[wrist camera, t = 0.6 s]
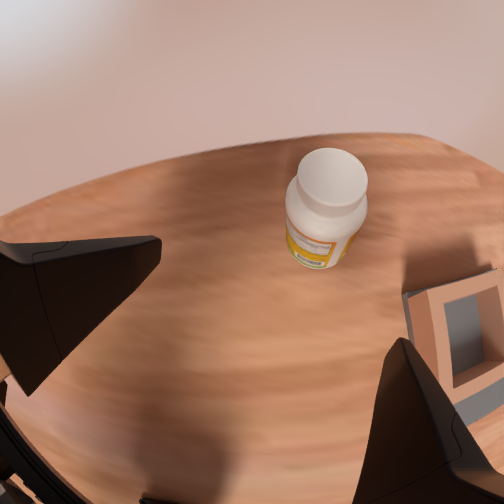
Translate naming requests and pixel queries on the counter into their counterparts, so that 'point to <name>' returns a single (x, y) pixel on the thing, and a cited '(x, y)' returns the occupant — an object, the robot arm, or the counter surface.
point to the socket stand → (462, 339)
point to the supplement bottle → (325, 207)
